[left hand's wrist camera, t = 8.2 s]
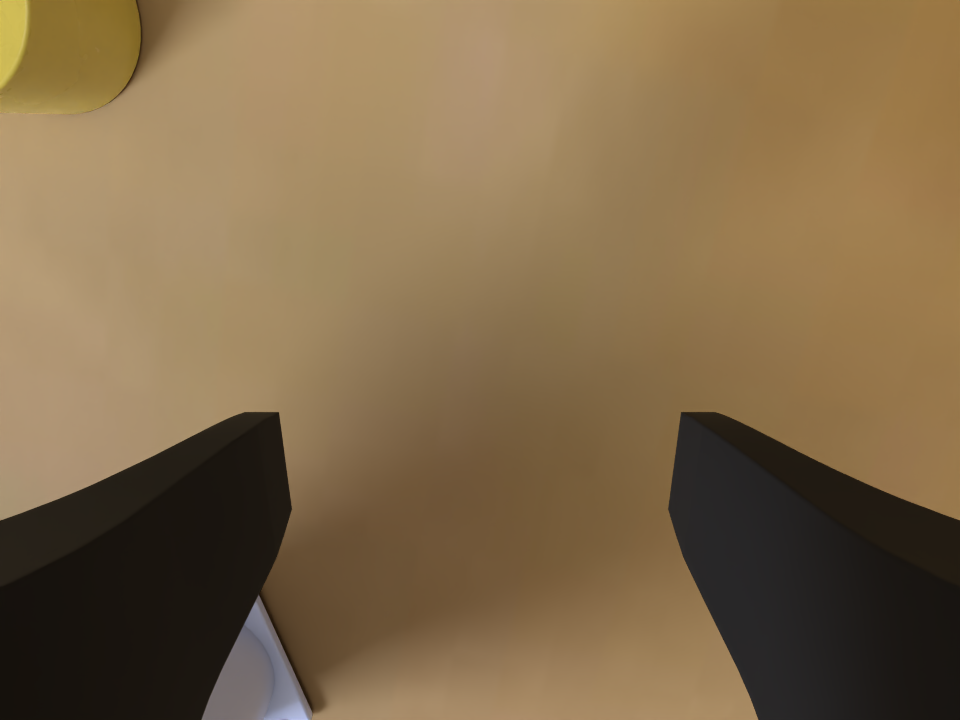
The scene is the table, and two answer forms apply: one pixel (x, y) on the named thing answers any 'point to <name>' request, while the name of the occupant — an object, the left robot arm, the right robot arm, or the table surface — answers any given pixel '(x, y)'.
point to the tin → (66, 54)
